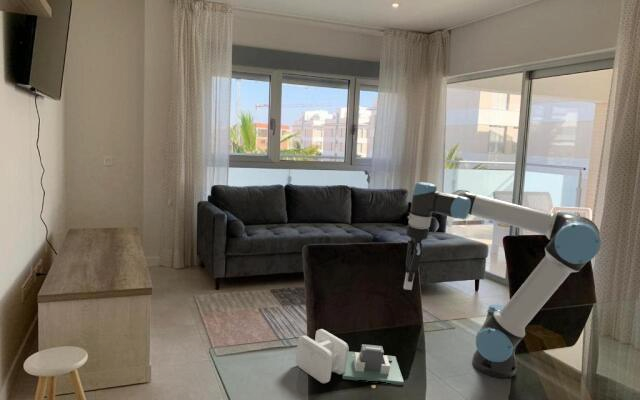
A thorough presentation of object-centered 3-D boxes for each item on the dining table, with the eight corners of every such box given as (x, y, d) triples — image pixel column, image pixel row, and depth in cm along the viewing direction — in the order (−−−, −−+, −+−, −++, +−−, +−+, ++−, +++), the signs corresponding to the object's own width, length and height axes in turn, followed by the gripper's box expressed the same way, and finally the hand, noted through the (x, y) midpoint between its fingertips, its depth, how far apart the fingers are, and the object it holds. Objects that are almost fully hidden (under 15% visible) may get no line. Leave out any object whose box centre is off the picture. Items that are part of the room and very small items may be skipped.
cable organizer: (347, 378, 161) (352, 345, 158) (324, 388, 153) (329, 354, 151) (315, 357, 171) (319, 326, 169) (292, 366, 164) (296, 334, 161)
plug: (378, 364, 168) (382, 344, 167) (380, 371, 164) (384, 350, 163) (358, 362, 168) (362, 342, 166) (359, 369, 164) (363, 348, 163)
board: (394, 359, 176) (396, 348, 175) (403, 385, 160) (405, 373, 159) (339, 353, 175) (341, 342, 174) (342, 378, 159) (344, 367, 158)
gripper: (404, 220, 179) (394, 280, 184) (411, 229, 166) (400, 294, 171) (424, 222, 180) (413, 283, 184) (433, 232, 167) (421, 297, 172)
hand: (407, 288), depth 178 cm, fingers closed
